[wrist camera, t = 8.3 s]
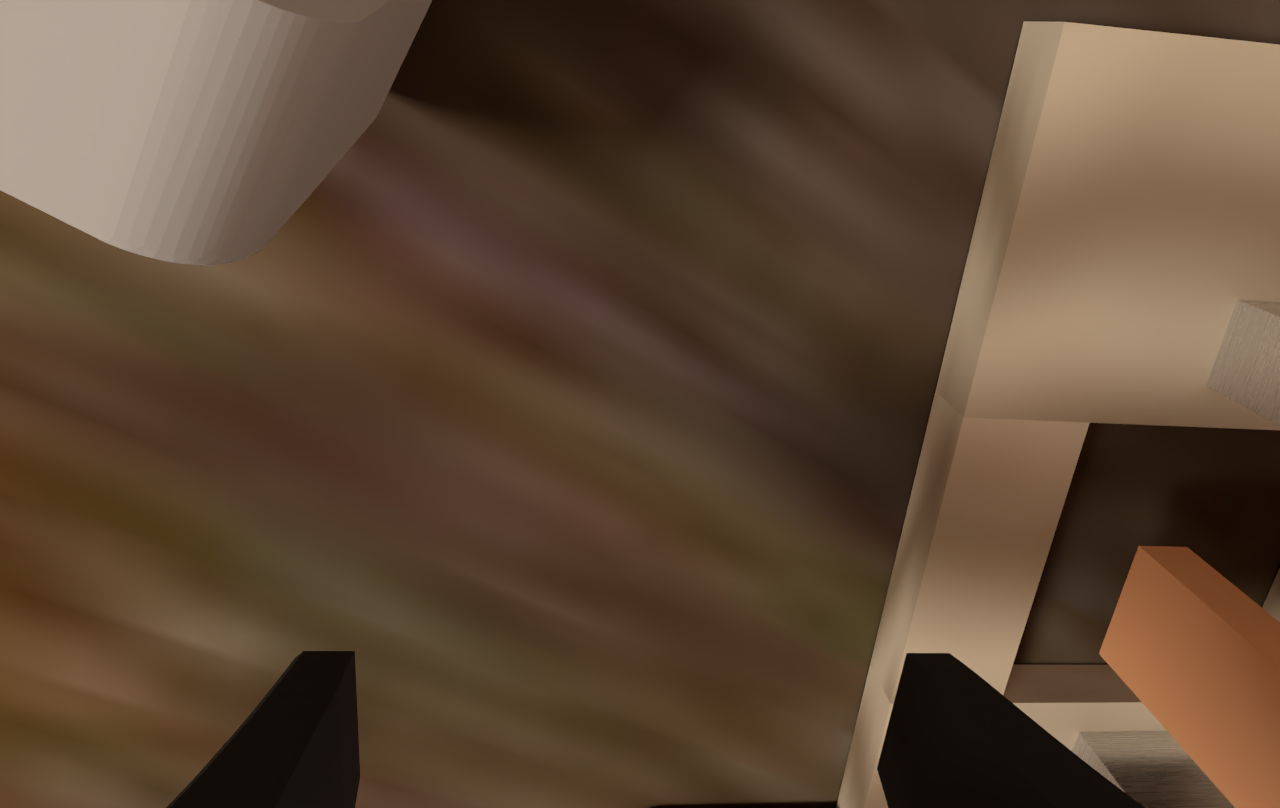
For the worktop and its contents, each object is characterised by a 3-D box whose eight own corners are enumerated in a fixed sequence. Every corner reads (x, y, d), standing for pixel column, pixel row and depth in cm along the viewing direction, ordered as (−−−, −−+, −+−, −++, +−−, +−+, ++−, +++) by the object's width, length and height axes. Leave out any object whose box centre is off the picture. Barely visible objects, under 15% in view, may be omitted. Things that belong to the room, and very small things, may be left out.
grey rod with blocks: (1157, 785, 25) (1314, 980, 20) (1058, 787, 24) (1193, 986, 19) (1360, 307, 19) (1649, 408, 14) (1237, 300, 19) (1489, 400, 14)
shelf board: (1233, 861, 29) (1267, 903, 28) (820, 874, 27) (835, 920, 26) (1614, 83, 20) (1695, 89, 18) (1023, 21, 18) (1064, 21, 16)
